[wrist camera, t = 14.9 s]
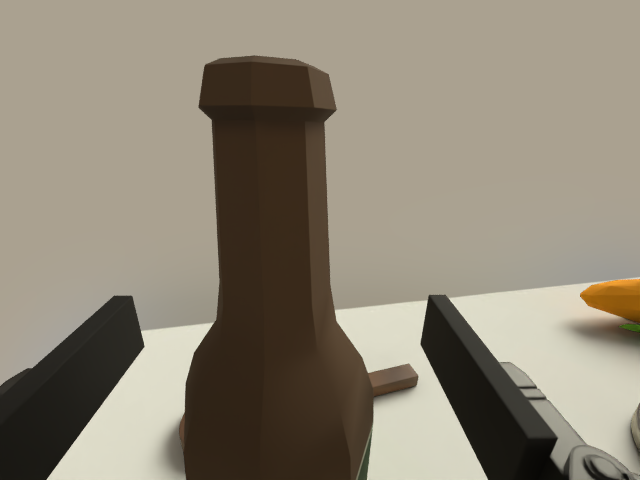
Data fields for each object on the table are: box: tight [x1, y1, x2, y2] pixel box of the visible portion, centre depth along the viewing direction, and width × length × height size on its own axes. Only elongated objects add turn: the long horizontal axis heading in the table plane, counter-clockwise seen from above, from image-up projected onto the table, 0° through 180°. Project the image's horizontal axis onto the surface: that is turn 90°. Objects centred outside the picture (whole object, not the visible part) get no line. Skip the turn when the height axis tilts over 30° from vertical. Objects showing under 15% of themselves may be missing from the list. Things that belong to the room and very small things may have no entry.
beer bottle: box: [184, 56, 373, 480], centre depth 12 cm, size 8×8×24 cm
